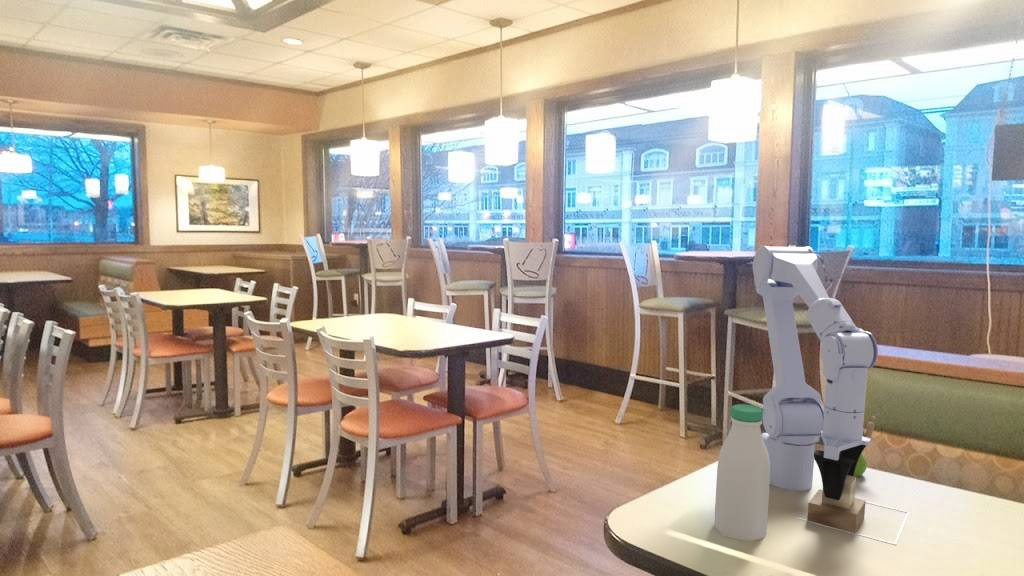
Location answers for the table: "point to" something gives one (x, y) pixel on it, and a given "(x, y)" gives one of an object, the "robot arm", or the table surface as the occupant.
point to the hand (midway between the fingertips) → (838, 490)
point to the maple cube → (844, 494)
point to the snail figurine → (862, 461)
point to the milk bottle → (743, 478)
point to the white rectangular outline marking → (875, 538)
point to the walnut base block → (836, 514)
